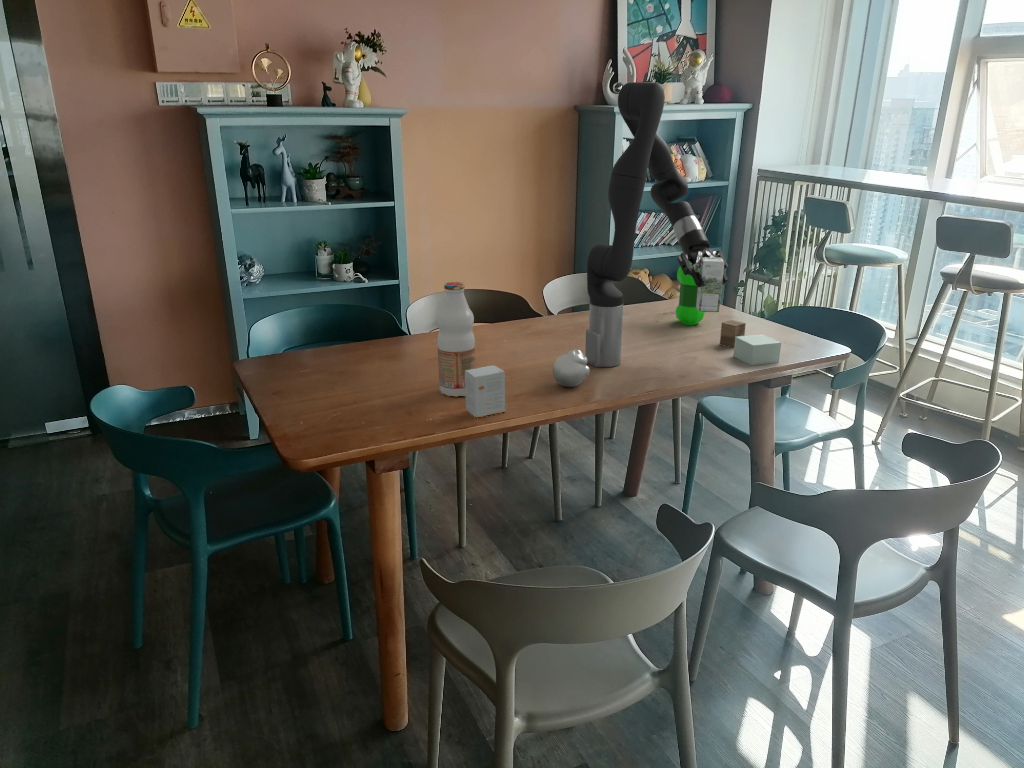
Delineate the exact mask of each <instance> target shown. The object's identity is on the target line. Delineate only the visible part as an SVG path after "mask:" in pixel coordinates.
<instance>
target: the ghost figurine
mask: <svg viewBox="0 0 1024 768" xmlns="http://www.w3.org/2000/svg"><path fill="white" fill-rule="evenodd" d="M587 364H588V363H587V358H586V356H585V354H584V353H583V352H582V351H581V350H580V349H577V348H576V349H575V348H574V349H571V350H570V351H568V353H567V352H566V353H564V354H561V355H560V356H559V357H557V358H556V360H555V361H554V363H553V366H552V374H553V377H554V379H555V381H556V382H557V383H558V384H559V385H561V386H563V387H566V388H574V387H577V386H579V385H581V383H582V382H584V380H585V379H586V378H587V377H589V375H590V373H591V372H590V371H591V370H590V367H589V366H588V365H587Z"/></svg>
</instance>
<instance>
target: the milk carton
mask: <svg viewBox="0 0 1024 768" xmlns="http://www.w3.org/2000/svg"><path fill="white" fill-rule="evenodd" d="M723 271H724V272H725V270H724V261H723V259H722V258H711V257H701V264H700V268H699V272H700V275H701V277H702V279H703V281H704V284H703V285H702V287H698V290H697V300H696V308H697V309H698V311H699V312H705V313H720V307H721V305H720V304H721V299H722V298H721V297H722V289H723V287H722V286H723V285H722V280H723Z"/></svg>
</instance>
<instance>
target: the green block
mask: <svg viewBox="0 0 1024 768" xmlns="http://www.w3.org/2000/svg"><path fill="white" fill-rule="evenodd" d="M781 348H782V342H781V341H778V340H776V339H774V338H772V337H770V336H767V335H766V334H763V333H760V334H750V335H744V336H738V337H735V346H734V348H733V357H734V358H736V357H737V358H736V359H739V360H740V361H742V362H744V363H746V364H747V365H749V366H756V365H765V364H766V365H767V364H775V363H776V364H777V363H780V358H781V357H780V356H781V355H780V354H781Z"/></svg>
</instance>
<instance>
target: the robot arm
mask: <svg viewBox="0 0 1024 768" xmlns="http://www.w3.org/2000/svg"><path fill="white" fill-rule="evenodd" d="M617 95H618V96H617V108H618V111H619V113H620V115H621V118H622V119H623V121H624V123H625V124H626V126H627V128H628V129H629V131H630V133H631V135H632V136H633V138H632V141H631V142H630V144H629V145H628V146H627V148H625V150H624V151H623V153H622V154H621V155H620V157H618V159H617V161H616V162H615V164H614V165H613V167H612V170H611V174H610V179H609V183H608V189H607V190H608V191H607V199H608V204H609V207H610V210H611V213H612V218H613V222H614V233H613V239H612V243H611V244H605V243H599V244H595V245H594V246H593V247H592V248H591V250H590V251H589V252H588V255H587V261H586V282H587V283H586V285H587V286H586V287H587V294H588V297H589V314H588V315H589V316H588V317H589V318H588V321H589V322H588V328H587V329H586V330H585V351H584V353H585V354H584V355H585V356H586V358H587V364H589V365H591V366H593V367H595V368H611V367H617V366H618V365H621V361H622V360H621V359H622V358H621V357H622V342H623V341H622V337H623V336H622V335H623V315H624V294H623V292H622V291H620V290H619V289H618V288H617V287H616V286H615V284H614V282H622V281H624V280H625V279H626V278H627V277H628V275H629V273H630V270H631V268H632V263H633V256H634V248H635V240H636V231H637V225H638V219H639V213H640V208H641V202H642V198H643V196H644V190H645V184H646V181H647V173H648V171H649V174H650V177H651V178H652V179H653V180H655V181H657V182H655V183H654V184H653V185H652V186H651V187H650V192H649V193H650V197H651V199H652V200H653V202H654V203H655V205H656V206H658V208H660V210H661V211H663V213H664V214H665V215H666V217H667V219H668V220H669V223H670V225H671V227H672V230H673V231H674V233H673V234H674V236H675V238H676V240H677V243H678V245H679V246H680V249H681V251H682V252H681V253H680V255H678V257H677V258H676V259H677V261H678V263H679V267H680V266H681V268H682V271H683V273H684V275H690V276H692V277H693V280H694V282H695V284H696V285H697V286H698V287H702V285H703V284H704V281H703V279H702V277H701V275H700V272H698V269H699V268H700V264H701V257H711V258H722V259H723V261H724V271H723V280H722V286H725V285H726V283H728V280H729V279H728V276H727V274H726V271H725V270H726V269H727V268H729V264H728V262H727V260H726V258H725V257H726V256H724V254H723V252H722V250H721V249H720V248H719V249H717V250H716V251H713V250H711V248H710V241H709V240H708V237H707V235H706V233H705V231H704V229H703V227H702V224H701V223H700V221H699V219H697V217H696V214H695V213H694V210H693V207H692V206H691V204H690V203H689V202H687V201H685V200H683V201H678V200H680V199H683V198H684V197H685V196H686V195H687V194H688V191H689V185H688V183H687V180H686V179H685V178H684V176H683V175H682V174H681V173H680V172H679V169H677V167H676V165H675V162H674V159H673V157H672V154H671V150H670V147H669V146H668V145H667V142H666V141H665V140H664V139H663V138H662V136H661V135H659V134H658V133H657V132H658V128H659V125H660V122H661V118H662V116H663V111H664V107H665V99H666V96H665V89H664V87H663V85H662V84H661V83H659V82H653V81H652V82H647V81H646V82H643V81H636V82H635V81H634V82H632V81H631V82H627V83H625V84H623V85H622V86H621V87H620V90H619V93H618V94H617ZM676 201H678V202H676ZM689 261H690V262H691V266H690V263H689ZM686 268H687V269H686Z"/></svg>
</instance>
